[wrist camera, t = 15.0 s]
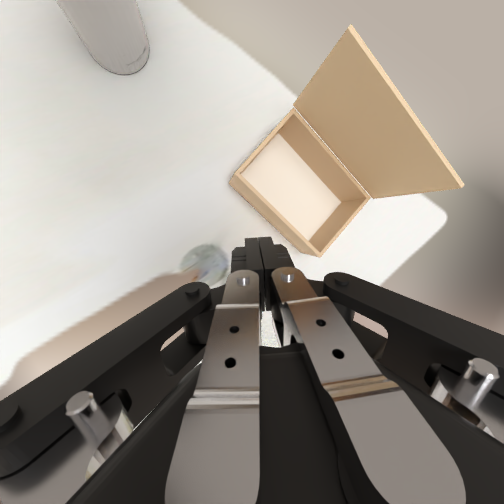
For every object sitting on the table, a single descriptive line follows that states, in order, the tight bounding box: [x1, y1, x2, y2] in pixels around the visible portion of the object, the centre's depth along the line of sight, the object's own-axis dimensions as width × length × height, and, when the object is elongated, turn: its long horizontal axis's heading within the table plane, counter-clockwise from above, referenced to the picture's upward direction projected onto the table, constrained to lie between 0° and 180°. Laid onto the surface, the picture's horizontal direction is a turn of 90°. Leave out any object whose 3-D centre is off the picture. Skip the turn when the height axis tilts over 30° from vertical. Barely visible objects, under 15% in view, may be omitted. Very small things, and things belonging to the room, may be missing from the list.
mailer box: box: [229, 108, 371, 257], centre depth 40 cm, size 20×14×8 cm
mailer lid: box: [293, 24, 464, 199], centre depth 30 cm, size 21×14×1 cm
